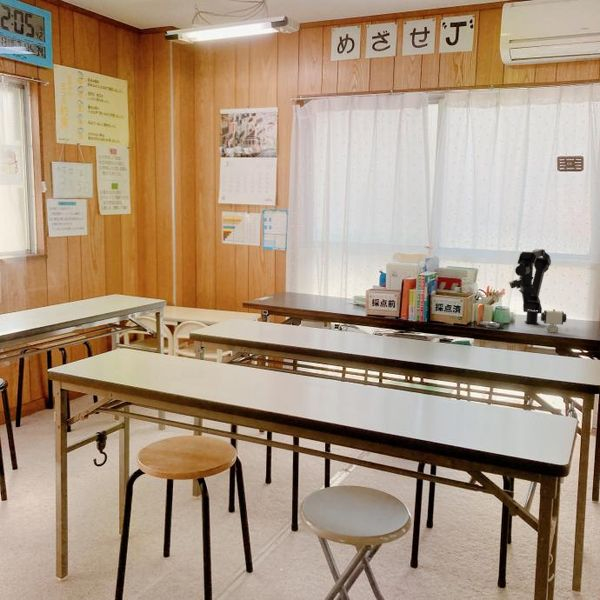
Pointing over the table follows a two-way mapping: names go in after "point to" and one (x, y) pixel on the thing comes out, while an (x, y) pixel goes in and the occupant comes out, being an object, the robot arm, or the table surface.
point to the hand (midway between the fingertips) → (524, 303)
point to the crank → (481, 317)
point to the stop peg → (501, 325)
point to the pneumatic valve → (553, 319)
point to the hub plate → (491, 327)
